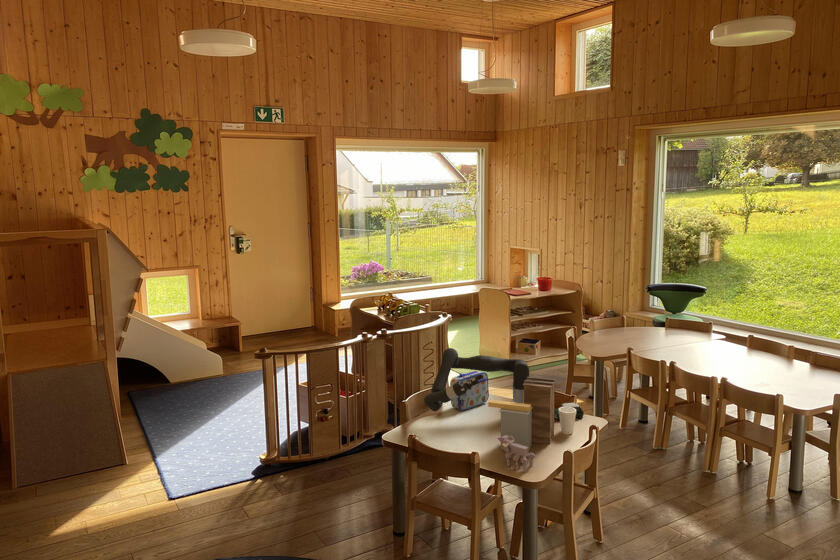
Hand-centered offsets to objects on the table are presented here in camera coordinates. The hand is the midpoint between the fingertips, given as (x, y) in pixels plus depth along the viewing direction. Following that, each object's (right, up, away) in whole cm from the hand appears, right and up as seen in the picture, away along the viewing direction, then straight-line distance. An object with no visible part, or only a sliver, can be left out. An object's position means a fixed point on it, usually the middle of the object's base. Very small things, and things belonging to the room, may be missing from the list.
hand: (480, 378), depth 347 cm
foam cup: (+49, -32, +11) cm, 60 cm away
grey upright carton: (+18, -35, -7) cm, 40 cm away
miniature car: (+54, -28, +32) cm, 69 cm away
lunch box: (-2, -26, +53) cm, 58 cm away
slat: (+14, -14, -9) cm, 22 cm away
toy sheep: (+14, -39, -26) cm, 49 cm away
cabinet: (+32, -33, +4) cm, 46 cm away
